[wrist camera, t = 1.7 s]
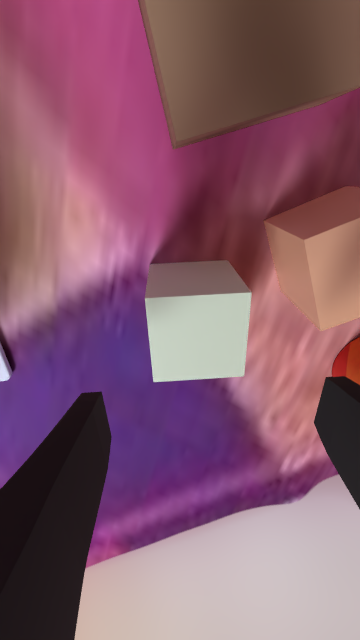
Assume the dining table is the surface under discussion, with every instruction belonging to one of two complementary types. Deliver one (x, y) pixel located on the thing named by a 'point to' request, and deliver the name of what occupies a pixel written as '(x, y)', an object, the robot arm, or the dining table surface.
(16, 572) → the robot arm
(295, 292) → the terracotta cube
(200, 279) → the sage cube
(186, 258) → the dining table surface
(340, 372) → the paper cup
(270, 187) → the dining table surface
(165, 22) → the walnut base
